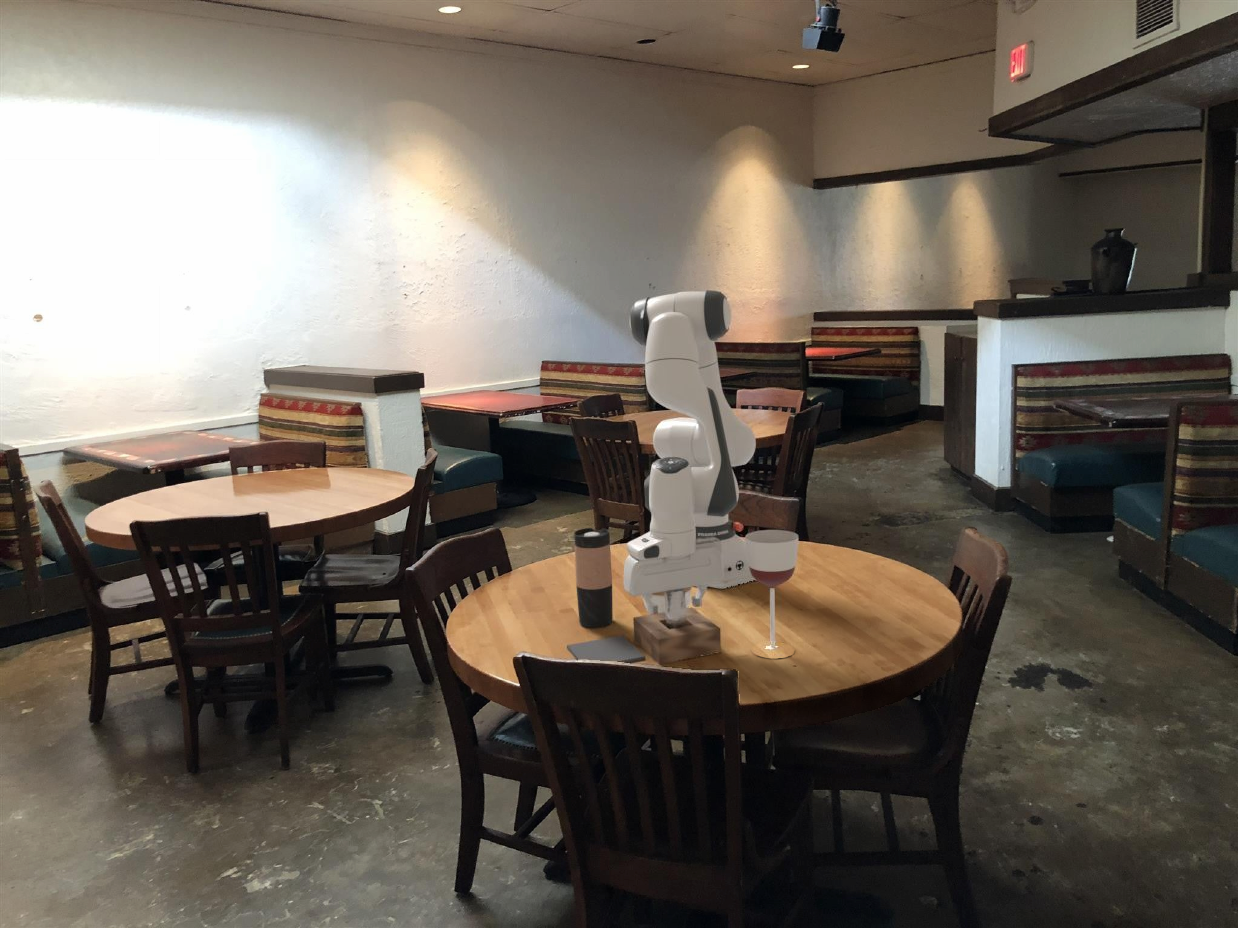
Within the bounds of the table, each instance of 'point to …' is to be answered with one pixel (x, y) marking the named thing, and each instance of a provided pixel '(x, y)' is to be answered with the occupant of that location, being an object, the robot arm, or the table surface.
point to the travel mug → (593, 577)
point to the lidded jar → (660, 599)
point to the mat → (607, 650)
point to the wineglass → (772, 563)
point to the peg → (675, 608)
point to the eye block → (676, 637)
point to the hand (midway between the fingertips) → (675, 609)
